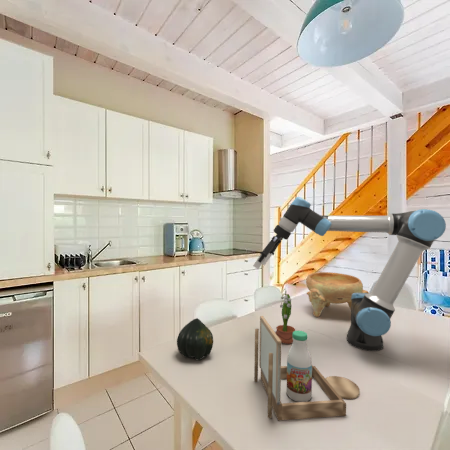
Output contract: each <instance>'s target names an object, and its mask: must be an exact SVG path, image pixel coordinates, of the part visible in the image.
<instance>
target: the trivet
mask: <svg viewBox="0 0 450 450" xmlns="http://www.w3.org/2000/svg"><path fill="white" fill-rule="evenodd" d="M324 378H325V379H326V380H327V381H328V382H329V384H330V385H331V386H332V387H333V388H334V389H335V391H336V392H337V393H338V394H339V395H340V397H341V398H342V399H343V400H355V399H357V398H359V397H360V395H361V394H360V392H361V391H360V390H361V389H360V387H359V386H358V385H357V383H355V382H354V381H353V380H351V379H348V378H346V377H342V376H337V375H330V376H327V377H324Z"/></svg>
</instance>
